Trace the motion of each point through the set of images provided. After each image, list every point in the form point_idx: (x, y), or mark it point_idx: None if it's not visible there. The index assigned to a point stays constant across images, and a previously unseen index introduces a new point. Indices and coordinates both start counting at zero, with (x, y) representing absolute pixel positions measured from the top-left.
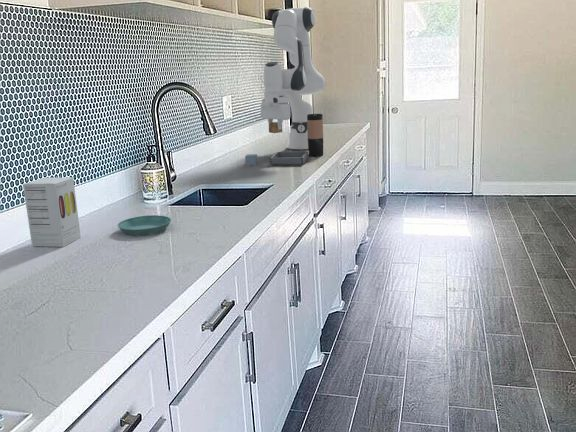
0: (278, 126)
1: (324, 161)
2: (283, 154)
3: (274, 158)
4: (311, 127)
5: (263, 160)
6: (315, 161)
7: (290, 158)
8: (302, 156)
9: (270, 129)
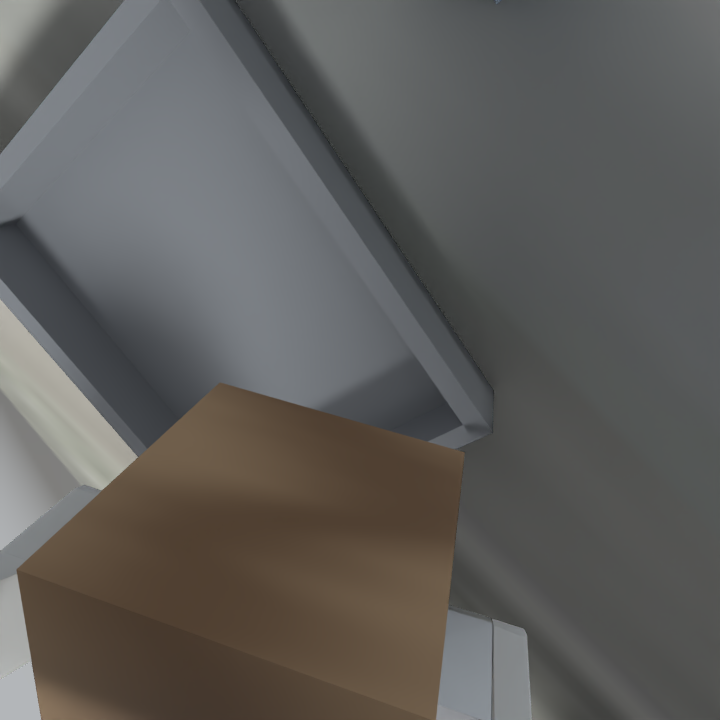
0: (27, 536)
1: (60, 448)
2: (415, 433)
3: (124, 3)
4: None
5: (602, 255)
6: (106, 424)
7: (13, 146)
8: (2, 285)
9: (365, 483)
